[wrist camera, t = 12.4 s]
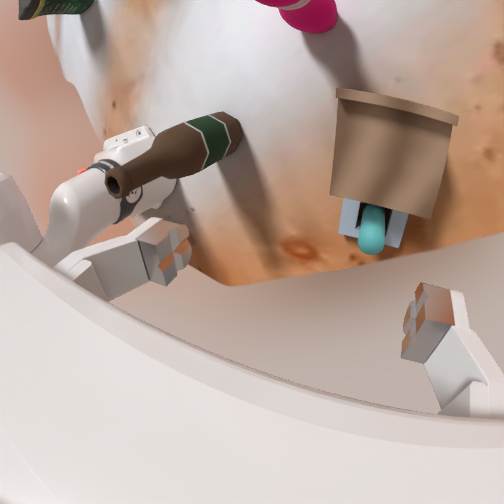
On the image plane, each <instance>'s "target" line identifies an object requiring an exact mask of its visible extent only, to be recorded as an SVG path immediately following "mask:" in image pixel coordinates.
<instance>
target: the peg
mask: <svg viewBox="0 0 504 504" xmlns="http://www.w3.org/2000/svg"><path fill="white" fill-rule="evenodd" d="M384 242H385V207H381V206H377V205H373V204H369V203H366V204H365V205H364V209H363V215H362V221H361V227H360V232H359V238H358V246H359V248H360V250H361V251H362V252H364V253H366V254H369V255H375V254H378V253H379V252H381V251H382V250H383V248H384Z"/></svg>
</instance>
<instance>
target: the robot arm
mask: <svg viewBox="0 0 504 504" xmlns="http://www.w3.org/2000/svg"><path fill="white" fill-rule="evenodd" d="M140 132H141V133H140ZM154 139H155V136H154V135H153V133H152V132H151V130H150V129H149V128H148V127H147V126H142V127H139V128H136V129H133V130H130V131H128V132H125V133H122V134H119V135H117V136H114V137H112V138H109V139H107V140H106V141H105V142H104V149H103V151H102V152H100V153H98V154H96V155H95V158H94V163H93V164H92V165H91V166H90V167H89V168H82V169H79V170H78V171H77V172H78V176H75V177H73V178H72V179H70V180H68V181H66V182H64V183H63V184H61V185H60V186H58V187H57V189H56V190H55V192H54V193H53V195H52V198H51V202H50V207H49V225H48V228H47V231H46V233H45V235H44V237H42V236H41V233H40V231H39V229H38V227H37V225H36V222H35V220H34V218H33V215H32V213H31V211H30V208H29V206H28V203H27V201H26V199H25V197H24V195H23V193H22V192H21V190H20V188H19V187H18V185H17V183H16V182H15V180H14V179H13V177H12V176H10V175H8V174H5V173H0V504H504V375H503V374H502V372H501V370H500V369H499V367H498V366H497V364H496V363H495V361H494V359H493V358H492V356H491V355H490V354H489V352H488V351H487V349H486V348H485V346H484V345H483V343H482V342H481V340H480V339H479V338H478V336H477V335H476V334H475V332H474V331H473V330H470V328H469V322H468V317H467V311H466V306H465V301H464V297H463V293H462V292H460V291H456V290H452V289H445V288H441V287H438V286H434V285H429V284H425V283H420V284H419V286H418V287H417V289H416V292H415V297H416V298H415V300H414V301H412V302H411V303H410V305H409V307H408V309H407V312H406V315H405V318H404V324H403V331H404V333H405V334H406V336H405V338H404V339H403V341H402V352H401V358H403V359H407V360H411V361H415V362H419V363H423V364H424V367H425V369H426V372H427V374H428V376H429V379H430V381H431V384H432V386H433V389H434V391H435V394H436V397H437V399H438V402H439V405H440V407H441V411H440V412H439V413H438V414H430V413H423V412H417V411H411V410H405V409H399V408H394V407H389V406H384V405H379V404H375V403H370V402H365V401H361V400H357V399H352V398H349V397H345V396H340V395H337V394H333V393H329V392H325V391H322V390H318V389H315V388H311V387H308V386H305V385H301V384H298V383H295V382H292V381H289V380H286V379H282V378H279V377H276V376H273V375H270V374H268V373H265V372H262V371H259V370H256V369H253V368H250V367H248V366H245V365H242V364H240V363H237V362H234V361H232V360H230V359H227V358H224V357H222V356H220V355H217V354H214V353H212V352H210V351H207V350H205V349H202V348H200V347H198V346H196V345H193V344H191V343H189V342H187V341H184V340H182V339H180V338H178V337H175V336H174V335H171V334H169V333H167V332H165V331H163V330H161V329H159V328H157V327H155V326H153V325H151V324H149V323H147V322H145V321H143V320H141V319H139V318H137V317H135V316H133V315H131V314H129V313H127V312H125V311H123V310H122V309H120V308H118V307H116V306H114V305H112V304H111V303H109V301H111V300H113V299H115V298H116V297H119V296H121V295H123V294H125V293H127V292H129V291H131V290H133V289H135V288H136V287H139V286H141V285H143V284H145V283H147V282H149V280H150V281H152V282H155V283H158V284H161V285H164V286H167V285H168V284H169V283H170V282H171V281H172V280H173V279H174V278H175V277H176V276H177V271H178V270H181V269H184V268H185V267H186V265H187V264H188V263H189V261H190V258H191V254H192V249H191V244H190V243H189V242H188V240H187V238H188V236H189V231H188V227H187V226H186V225H185V224H182V223H178V222H174V221H170V220H166V219H162V218H157V217H151V218H150V219H148V220H147V221H146V222H144V223H143V224H141V225H140V226H139V227H137V228H136V229H135V230H133V231H132V232H131V233H129V234H128V235H127V236H121V237H117V238H114V239H111V240H108V241H105V242H101V243H98V244H95V245H92V246H89V247H86V246H87V245H88V244H89V243H90V242H91V241H92V240H93V239H94V238H96V237H97V236H98V235H99V234H100V233H101V232H103V231H104V230H105V229H106V228H108V227H109V226H110V225H112V224H117V223H118V222H120V221H123V220H124V219H125V218H127V217H128V216H131V217H135V216H137V215H139V214H140V213H142V212H144V211H146V210H148V209H149V208H153V209H158V208H160V207H161V205H162V202H163V200H164V199H165V198H166V197H168V196H169V195H170V194H171V193H172V192H173V190H174V188H175V185H176V179H168V178H165V177H162V176H161V177H159V178H157V179H155V180H153V181H151V182H149V183H147V184H145V185H143V186H141V187H139V188H137V189H135V190H133V191H131V192H130V195H129V196H126V197H123V198H119V199H115V198H114V197H113V196H111V195H110V194H109V193H108V190H107V188H106V186H105V183H104V182H105V174H106V173H107V172H108V171H109V170H110V169H111V168H114V167H116V166H118V167H120V166H122V165H124V164H125V163H127V162H129V161H130V160H132V159H134V158H136V157H138V156H139V155H141V154H143V153H144V152H146V151H147V150H149V149H150V148H151V146H152V143H153V141H154ZM85 247H86V248H85Z"/></svg>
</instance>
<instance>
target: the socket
mask: <svg viewBox="0 0 504 504" xmlns="http://www.w3.org/2000/svg"><path fill="white" fill-rule="evenodd" d="M359 206H360V201H355V200H351V199H346V198H344V199H343V206H342V212H341V218H340V224H339V230H338V233H339V234H343V235H347V236H351V237H355V238H359V232H360V227H361V221H360V220H357V217H358V212H359ZM408 215H409V214H408V213H405V212H401V211H397V210H393V209H391V210H390V214H389V218H388V222H387V226H386V227H385V242H384V245H388V246H392V247H395V248H399V245H400V242H401V239H402V236H403V232H404V229H405V225H406V222H407V218H408Z"/></svg>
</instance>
